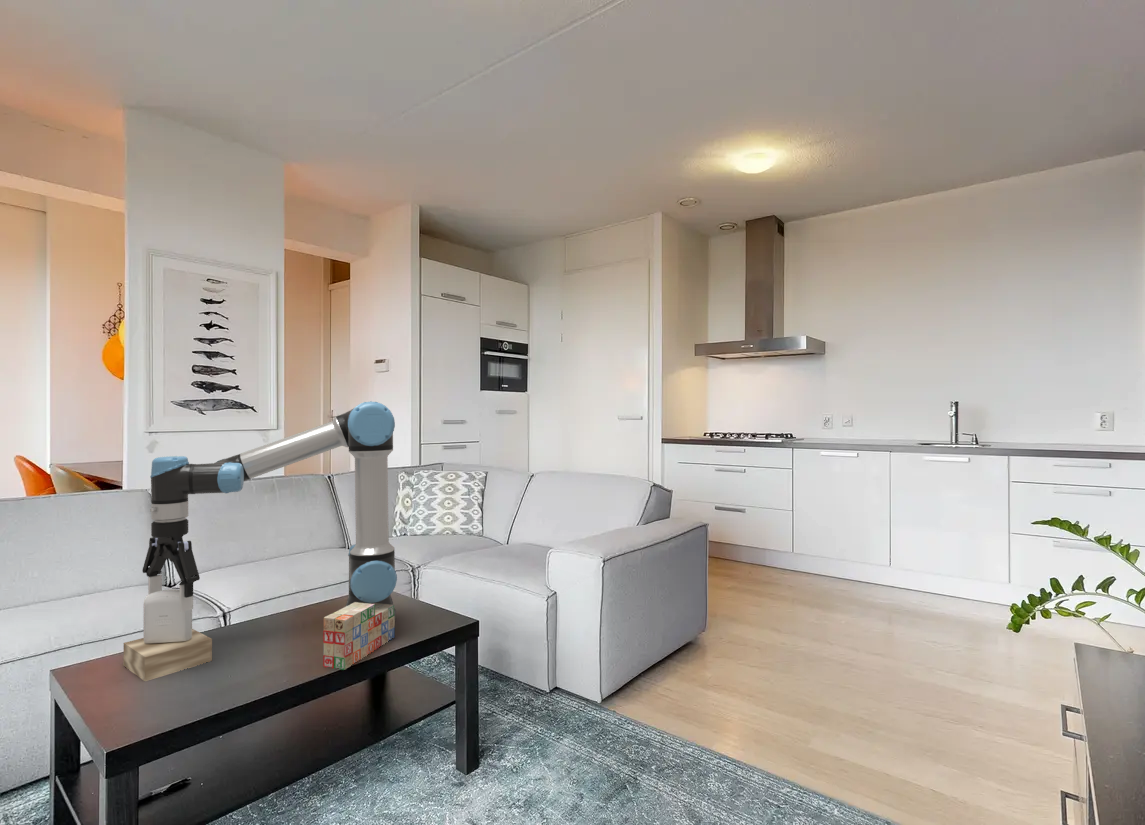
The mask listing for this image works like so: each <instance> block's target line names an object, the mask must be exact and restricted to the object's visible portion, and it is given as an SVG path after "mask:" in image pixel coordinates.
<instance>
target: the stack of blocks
mask: <svg viewBox="0 0 1145 825" xmlns="http://www.w3.org/2000/svg"><path fill="white" fill-rule="evenodd" d="M394 608H395V604H393V605H390V604H379V603H374V604H369V603H358V602H354V603H352V604H350V605H348V606H346V605H345V606H344V607H342V608H340V609H338V610H337V611H334V612H332V613H330V614H328V615H326V616H324V617H323V631H322V633H323V634H322V637H323V638H322V642H323V655H322V656H323V657H322V662H323V663H322V667H323V666H324V667H323V668H327V667H332V668H331V669H335V668H339V669H338V670H341V671H344V670H347V669H348V668H350V667H351V665H352V664H354V663H355V662H357V661H358V660H360V659H361V660H363V659H364V658H363V657H365V656H366V657H367V655H368V654H369V653H370V654H372V653H373V652H375V651H376V650H378V649H380V648H381V647H382V645H383V644H384V645H386V644H387V643H389V642H390V641H389V640H391V639H392V638H394V639H395V626H396V625H395V621H396V619H395V616H394ZM392 640H393V639H392ZM392 640H391V641H392ZM388 641H389V642H388ZM386 642H387V643H386ZM385 643H386V644H385ZM384 645H383V646H384ZM380 646H381V647H380ZM379 647H380V648H379ZM377 648H378V649H377ZM374 650H375V651H374ZM371 652H372V653H371ZM370 654H369V655H370ZM369 655H368V656H369ZM366 657H365V658H366ZM362 658H363V659H362ZM361 660H360V661H361ZM358 662H359V661H358ZM358 662H357V663H358ZM355 664H356V663H355ZM355 664H354V665H355ZM352 666H353V665H352Z"/></svg>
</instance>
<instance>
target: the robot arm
mask: <svg viewBox="0 0 1145 825" xmlns="http://www.w3.org/2000/svg"><path fill="white" fill-rule="evenodd" d="M395 423H396V422H395V417H394V415H393V413H392V410H390V409H389V408H388V407H387V405H384V404H383V403H381V402H379V401H378V402H377V401H372V400H371V401H364V402H361V403H359V404H358V405H356V406H355V407H353V408H351V409H350V410H348V411H346V412H344V413H342V414H340V415H339V414H338V415H337V416H336V415H335V416H334V417H333V419H332V421H330V422H326V423H324V424H320V425H319V426H315V427H312V428H309V429H307V430H305V431H304V430H303V431H301V432H298V433H295V434H292V435H289V436H287V437H284V438H280V439H278V440H275V441H272V442H270V443H266V444H263V445H261V446H257V447H254V448H253V449H250V450H247V451H244V452H241V453H239V454H234V455H233V456H230V457H226V458H222V459H219V460H218V461H216V462H214V463H213V462H211V463H197V464H196V463H190V461H189V459H188V457H187V456H183V455H180V456H177V455H175V456H173V455H172V456H171V455H170V456H160V457H159V456H157V457H156V458H154V459H153V460H152V461H151V472H150V489H151V490H150V493H151V497H150V498H151V501H150V502H151V505H150V506H151V508H150V509H149V512H150V513H151V520H152V523H151V524H150V526H151V527H150V529H151V530H150V531H151V532H150V533H151V537H150V538H149V540H148V544H149V546H148V549H147V553H146V556H145V560H144V563H143V566H142V573H143V574H145V575H146V577H148V578H147V579H148V586H147V587H148V588H147V589H148V592H147V593H148V594H147V595H149V594H151V593H154V592H157V591H162V590H163V582H162V581H163V579H162V576H163V575H162V574H163V571H162V570H163V567H164V565H165V563H166V561H167V559H168V560H169V561H170V562H172V564H173V566H174V568H175V571H176V572H177V575H178V577H179V580H180V582H179V584H178V585H179V590H180V612H184V611H187V610H191V609H192V610H193V609H194V583H195V582H197V581H200V574H199V570H198V567H197V563H196V559H195V555H194V553H193V546H192V541H191V540H186V541H184V540H183V538H184V537H183V536H185V535H187V534H188V533H189V519H187V518H188V516H189V495H196V494H197V495H199V494H201V495H202V494H223V493H224V494H229V493H236V492H237V493H238V492H241V490H242V489H243V487H244V482H247V481H248V480H251V479H254V478H256V477H259V476H263V475H265V474H268V473H270V472H272V471H273V472H274V471H277V470H279V469H282V468H284V467H287V466H291V465H292V464H295V463H298V462H301V461H304V460H306V459H309V458H312V457H314V456H318V455H320V454H322V453H323V454H324V453H327V452H328V451H331V450H334V449H336V448H339V447H345V448H348V453H350V455H351V456H353V458H354V496H355V497H354V500H355V501H354V504H355V507H354V508H355V510H354V511H355V544H352V545H351V546H349V550H348V555H347V556H348V597H347V599H346V600H347V601H346V605H345V607H346V606H348V605H350V604H352V603H354V602H358V603H369V604H374V603H379V604H390V605H394V602H393V598H392V595H391V594H392V593H393V592H394V590H395V588H396V586H397V581H398V574H397V571H396V568H395V567H396V564H395V562H396V560H395V558H396V556H395V554H396V553H395V551H396V550H395V547H394V546H393V545H392V544H391V543H390V542H389V540H390V539H389V538H390V537H389V536H390V534H389V532H390V531H389V479H388V478H389V472H388V470H389V468H388V467H389V466H388V464H389V462H388V457H389V455H390V454H391V453H392V452H393V451H394V431H395V427H396V424H395ZM394 616H395V620H396V619H397V611H396V607H394Z"/></svg>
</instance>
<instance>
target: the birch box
mask: <svg viewBox="0 0 1145 825" xmlns="http://www.w3.org/2000/svg"><path fill="white" fill-rule="evenodd" d="M122 651H123V653H122V654H123V658H122V660H123V662H122V666H123V667H124V666H125V667H126V668H125V667H124V668H125V669H126V670H128V669H129V670H128V671H130V672H131V673H132V674H134V675H136V676H137V677H138V678H140V679H141V680H142V681H143V682H148V681H151V680H154V679H158V678H161V677H165V676H167V675H171V674H174V673H178V672H181V671H185V670H187V668H188V669H190V668H194V667H198V666H201V665H204V664H206V662H208V663H210V661H211V662H212V661H213V659H212V658H213V638H211V637H209V636H207V635H206V634H203V633H201V632H200V631H198V630H196V629H195V628H192V638H191V639H190V640H187V641H180V642H165V643H148V644H145V643H144V637H142V638H138V639H133V640H130V641H126V642H123V650H122ZM203 663H204V664H203ZM200 664H201V665H200ZM197 665H198V666H197ZM184 669H185V670H184ZM180 670H181V671H180Z"/></svg>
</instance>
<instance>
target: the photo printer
mask: <svg viewBox="0 0 1145 825" xmlns="http://www.w3.org/2000/svg"><path fill="white" fill-rule="evenodd" d="M192 629H193V609H191V610H187V611H184V612H180V589H162V591H157V592H154V593H151V594H149V595H148V594H147V595H146V596H145V598H144V601H143V638H144V643H145V644H148V643H165V642H180V641H187V640H190V639H191V638H192Z"/></svg>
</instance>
